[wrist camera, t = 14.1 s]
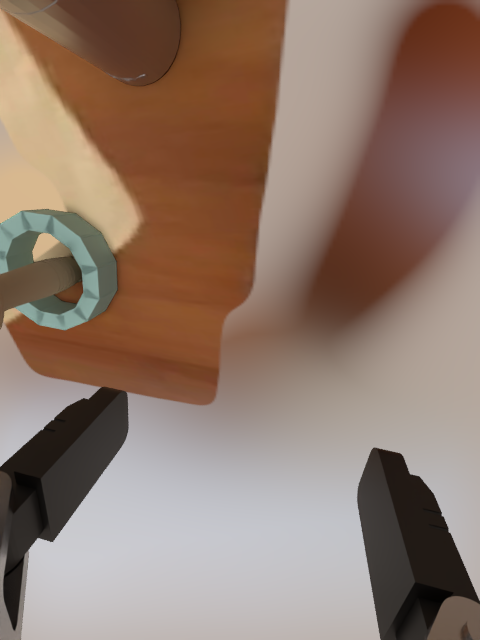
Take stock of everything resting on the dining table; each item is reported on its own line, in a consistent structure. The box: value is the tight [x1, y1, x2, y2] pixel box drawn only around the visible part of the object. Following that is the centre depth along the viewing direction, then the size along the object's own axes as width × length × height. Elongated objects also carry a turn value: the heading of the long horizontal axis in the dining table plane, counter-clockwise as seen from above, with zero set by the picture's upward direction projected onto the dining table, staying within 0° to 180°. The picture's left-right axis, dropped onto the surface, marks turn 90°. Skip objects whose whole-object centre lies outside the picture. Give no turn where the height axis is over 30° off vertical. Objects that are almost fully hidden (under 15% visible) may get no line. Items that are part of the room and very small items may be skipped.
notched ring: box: [0, 209, 118, 330], centre depth 40 cm, size 14×14×4 cm
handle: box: [0, 257, 83, 329], centre depth 34 cm, size 5×6×15 cm
